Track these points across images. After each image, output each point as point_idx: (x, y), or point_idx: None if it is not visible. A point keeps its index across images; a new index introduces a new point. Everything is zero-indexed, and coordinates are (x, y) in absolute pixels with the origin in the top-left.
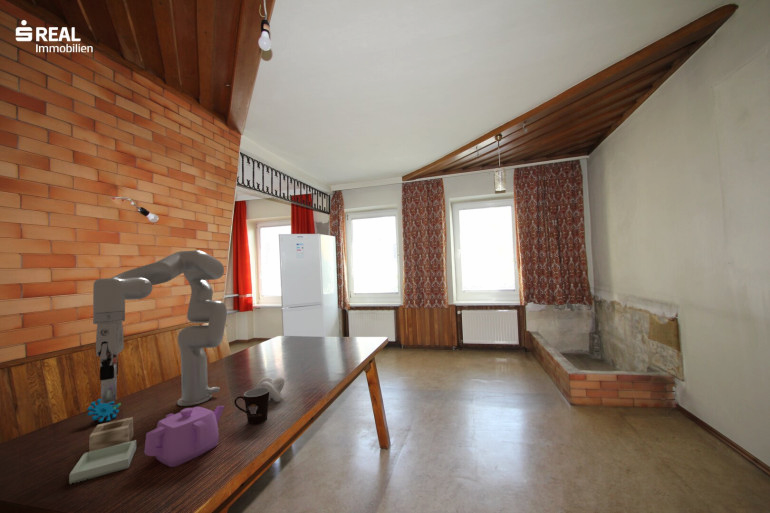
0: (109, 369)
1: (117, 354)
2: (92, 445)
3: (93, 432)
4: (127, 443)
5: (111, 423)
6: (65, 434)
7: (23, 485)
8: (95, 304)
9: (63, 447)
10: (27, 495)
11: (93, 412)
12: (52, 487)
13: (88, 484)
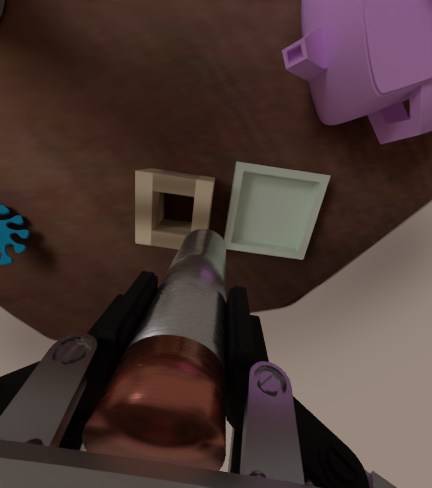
0: (265, 350)
1: (7, 407)
2: None
3: None
4: (241, 179)
5: (150, 217)
6: (58, 280)
7: None
8: None
9: (126, 276)
10: (281, 292)
11: (3, 255)
12: (284, 270)
13: (324, 229)
